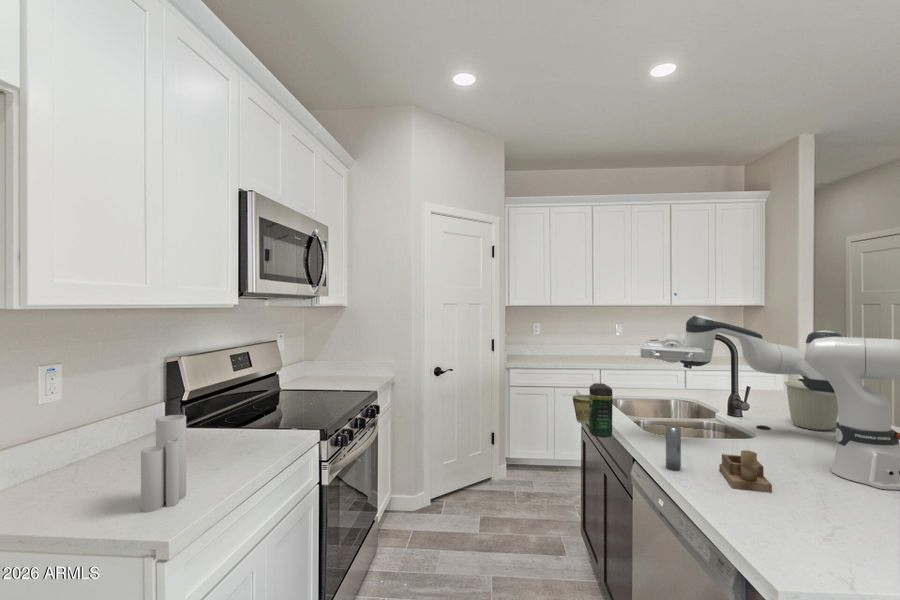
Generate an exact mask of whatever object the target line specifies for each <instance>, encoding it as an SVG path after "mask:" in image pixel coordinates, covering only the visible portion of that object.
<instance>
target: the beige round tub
mask: <svg viewBox="0 0 900 600" xmlns="http://www.w3.org/2000/svg"><path fill="white" fill-rule="evenodd" d="M798 379H799V378H791V379H788V380H787V381H785V382H784V385H785V386H786V393H787V399H788V400H787V401H788V409H789V414H790V415H789V416H790V419H791V421H792V423H793V424H794V425H795V426H797V427H798V428H799V427H800V428H804V429H807V430H812V431H831V430H833V429H835V428H836V423H837V422H838V404H837V398H836V394H834V395H821V394H818V393H815V392H813V391H810V390H809V389H808V388H806V387H805V386H804V384H803V383H802V381H799V380H798Z"/></svg>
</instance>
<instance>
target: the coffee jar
mask: <svg viewBox="0 0 900 600" xmlns="http://www.w3.org/2000/svg"><path fill="white" fill-rule="evenodd" d="M588 395H589V397H590V406H589V424H588V426H589V427H588V429H589V433H590V435H591V436H593V437H598V438H603V439H604V438H611V437H612V436H613V389H612V387H610V386H608V384H607V385H606V384H605V383H602V382H601V383H599V382H597V383H596V382H594V383H593V384H591V385H590V386H589V393H588Z"/></svg>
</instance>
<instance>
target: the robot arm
mask: <svg viewBox="0 0 900 600" xmlns="http://www.w3.org/2000/svg"><path fill="white" fill-rule="evenodd" d="M717 334H723V335H726V336H730V337H734V338H736V339H738V341H739V344H740V346H741V349H742V355H743V358H744V360H745V362H746V364H747V365H748V366H749V367H750V368H751V369H752V370H754V371H756V372H758V373H759V372H760V373H764V374H773V375H796V376H797V375H799V376H801V377H802V378H797V379H798V380H799V381H802V383H803V384H804V386H805V387H806V388H808V389H809V390H810V391H813V392H815V393H818V394H821V395H834V394H836V398H837V404H838V417H837V423H836V426H835V439H836V440H835V441H836V449H835V450H836V451H835V455H834V459H833V463H832V466H831V467H830V471H831V472H832V473H833V474H834V475H836V476H839V477H841V478H843V479H846V480H850V481H853V482H855V483H861V484H864V485H868V486H871V487H874V488H877V489H881V490H891V491H893V490H894V491H900V432H898V431H896V430H894V429H892V405H891V401H890V400H889V399H888V398H887V397H886V396H885V395H883V394H881V393H880V392H877V391H876V390H873V389H872V388H869V387H867V386H865V385H864V384H863V383H862V382H861V381H867V380H877V381H878V380H881V381H883V380H886V381H887V380H888V381H889V380H896V381H897V380H900V339H896V338H880V337H879V338H876V337H873V338H872V337H851V336H849V337H846V336H843V335H841V334H840V333H837V332H835V331H832V330H825V329H824V330H817V331H812V332H811V333H809V334H807V337H806V340H805V344H806V346H805V351H803V350H802V349H800V348H796V347H794V346H790V345H785V344H779V343H774V342H773V343H771V342H768V341H767V340H765V339H764V337H763V335H762V334H761V333H758V332H756V331H753V330H750V329H746V328H744V327H741V326H737V325H733V324H730V323H726V322H722V321H720V320H719V321H718V320H716V319H713V318H711V317H709V316H706V315H699V314H698V315H693V316H691V317H690V318H689V319H688V320H687V321H686V322H685V336H684V339H683V338H682V337H681V335H679V334H678V333H673V332H670V333H669V332H668V333H665V334H664V335H662V337H661V338H659V339H648V340H646V341H645V343H643V344H642V345H641V346H640V358H642V359H654V360H660V361H665V362H667V363H669V364H673V363H681V364H683V365H687V366H691V367H703V366H705V365H707V364H709V363H711V361H712V356H713V353H714V352H713V351H714V346H715V340H716V335H717Z"/></svg>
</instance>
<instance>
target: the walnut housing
mask: <svg viewBox="0 0 900 600" xmlns="http://www.w3.org/2000/svg"><path fill="white" fill-rule="evenodd" d="M718 467H719V469H718V470H719V472H720V473H721V474H722V476H723V477H724V479H725V481H726V482H727V483H728V484H729V486H730V487H731V488H732V489H739V490H746V491H756V492H762V493H764V492H765V493H773V484H772V483H771V482H770V481H769V480H768V479H767V478H766V477H765V476H764V469H765V468H764V466H763V464H762V463H760V462H759V460H758V454H757V452H755V451H751V450H740V455H738V454H737V455H735V454H725V453H722V454H721V463H719V466H718Z"/></svg>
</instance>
